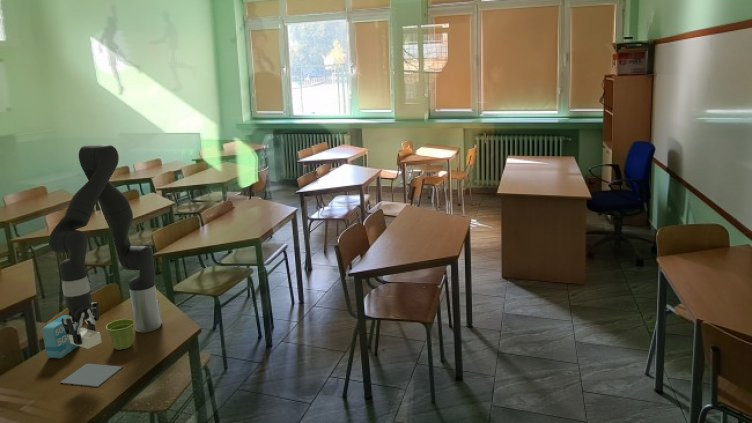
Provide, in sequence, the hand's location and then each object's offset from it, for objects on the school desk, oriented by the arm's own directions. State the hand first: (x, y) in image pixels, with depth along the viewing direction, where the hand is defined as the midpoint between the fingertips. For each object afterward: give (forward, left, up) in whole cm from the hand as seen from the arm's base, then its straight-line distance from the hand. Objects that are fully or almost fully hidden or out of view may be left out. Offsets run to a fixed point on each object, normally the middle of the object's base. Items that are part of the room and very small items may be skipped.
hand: (85, 339), depth 180 cm
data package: (-13, -22, -13) cm, 29 cm away
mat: (0, 0, -13) cm, 13 cm away
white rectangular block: (0, 0, -1) cm, 1 cm away
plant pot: (-20, -3, -13) cm, 24 cm away
